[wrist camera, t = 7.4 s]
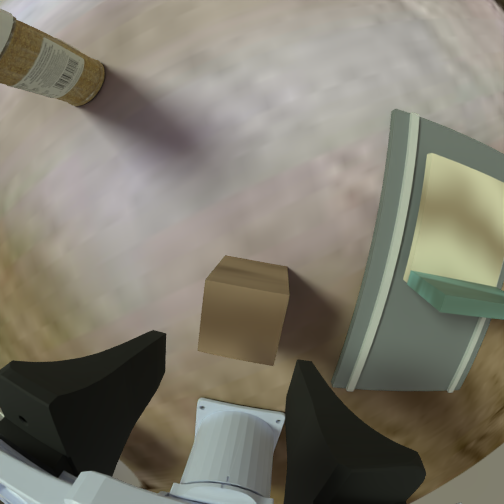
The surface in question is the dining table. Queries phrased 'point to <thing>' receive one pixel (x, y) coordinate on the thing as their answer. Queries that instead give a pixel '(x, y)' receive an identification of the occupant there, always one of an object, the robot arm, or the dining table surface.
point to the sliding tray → (458, 240)
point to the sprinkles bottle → (46, 64)
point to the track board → (396, 289)
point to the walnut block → (244, 310)
